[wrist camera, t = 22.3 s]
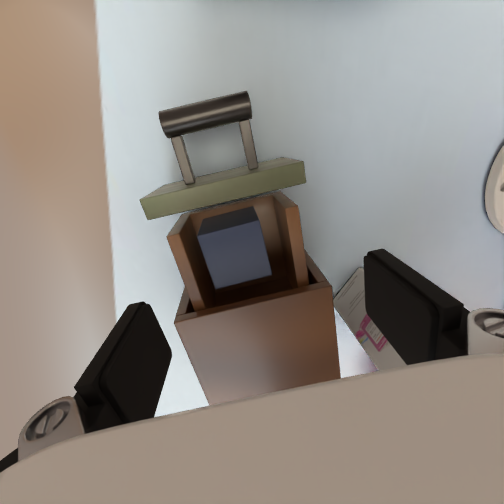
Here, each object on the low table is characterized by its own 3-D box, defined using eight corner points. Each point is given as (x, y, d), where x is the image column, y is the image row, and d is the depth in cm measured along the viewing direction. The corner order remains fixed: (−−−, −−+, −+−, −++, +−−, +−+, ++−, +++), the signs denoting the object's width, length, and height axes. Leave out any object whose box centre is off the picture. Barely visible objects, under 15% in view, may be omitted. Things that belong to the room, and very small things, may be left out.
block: (253, 205, 19) (259, 219, 15) (264, 252, 20) (272, 275, 17) (202, 218, 19) (196, 236, 15) (217, 264, 20) (215, 289, 17)
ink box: (420, 297, 26) (555, 404, 15) (388, 331, 28) (492, 450, 17) (359, 263, 24) (468, 361, 13) (329, 302, 25) (404, 419, 15)
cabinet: (189, 269, 23) (173, 322, 16) (300, 243, 22) (332, 285, 16) (222, 359, 27) (220, 430, 20) (314, 337, 27) (343, 401, 20)
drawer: (142, 125, 17) (105, 115, 12) (272, 94, 17) (292, 71, 12) (203, 297, 23) (196, 342, 18) (300, 274, 23) (322, 312, 18)
